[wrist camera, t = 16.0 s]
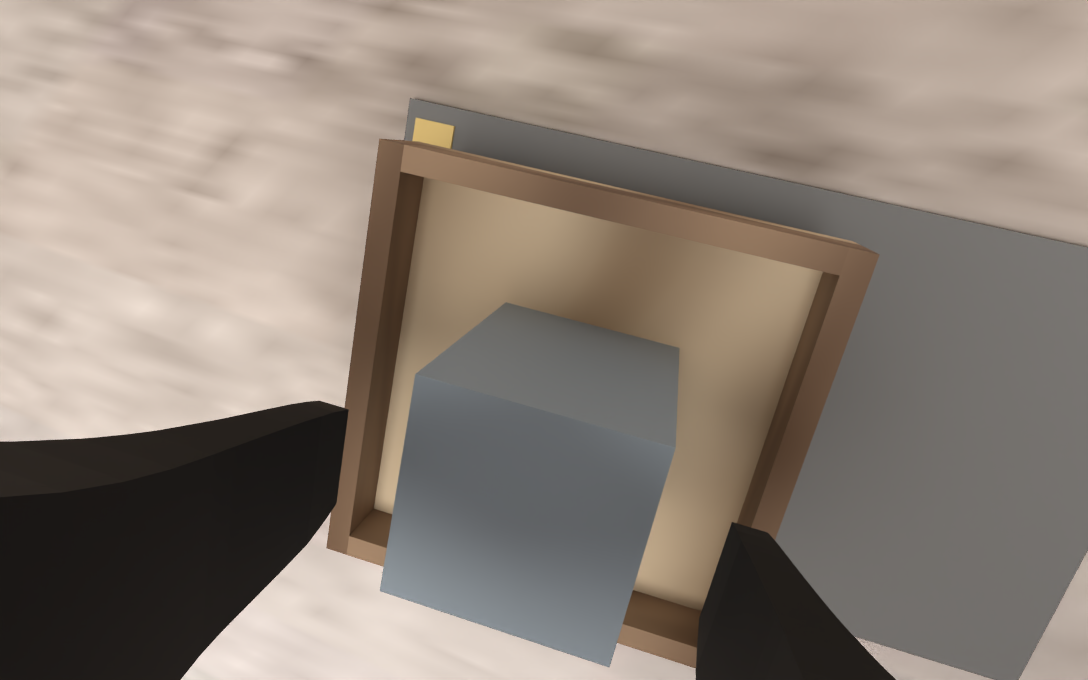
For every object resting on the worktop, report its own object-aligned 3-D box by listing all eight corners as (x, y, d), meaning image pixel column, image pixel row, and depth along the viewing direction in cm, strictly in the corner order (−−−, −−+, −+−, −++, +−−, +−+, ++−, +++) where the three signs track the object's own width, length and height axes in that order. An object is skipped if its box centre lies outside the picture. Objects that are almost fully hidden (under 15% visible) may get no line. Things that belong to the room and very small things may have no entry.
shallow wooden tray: (831, 231, 18) (879, 254, 14) (716, 569, 21) (724, 678, 17) (449, 143, 19) (379, 138, 15) (396, 472, 23) (326, 548, 18)
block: (679, 347, 16) (675, 447, 11) (634, 504, 18) (609, 667, 12) (506, 302, 17) (415, 374, 11) (474, 457, 18) (379, 591, 13)
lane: (1223, 277, 17) (1236, 280, 16) (1010, 678, 21) (1016, 688, 20) (414, 99, 20) (408, 97, 19) (360, 478, 24) (354, 483, 23)
